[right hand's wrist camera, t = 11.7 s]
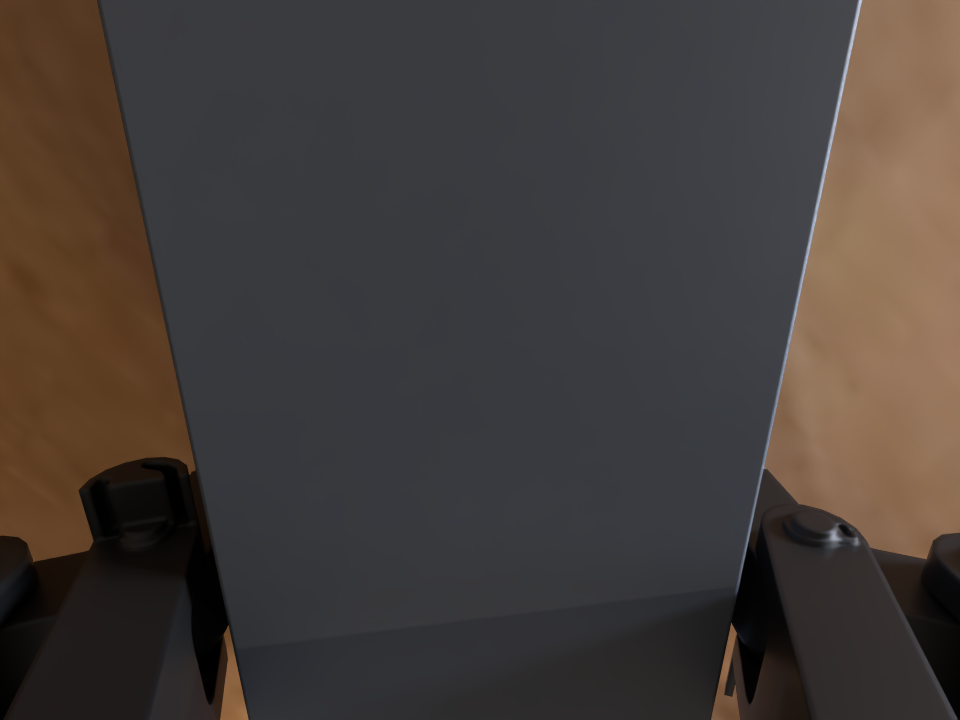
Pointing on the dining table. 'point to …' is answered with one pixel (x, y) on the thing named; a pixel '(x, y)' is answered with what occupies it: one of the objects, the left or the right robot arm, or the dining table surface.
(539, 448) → the beam
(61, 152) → the dining table surface
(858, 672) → the right robot arm
